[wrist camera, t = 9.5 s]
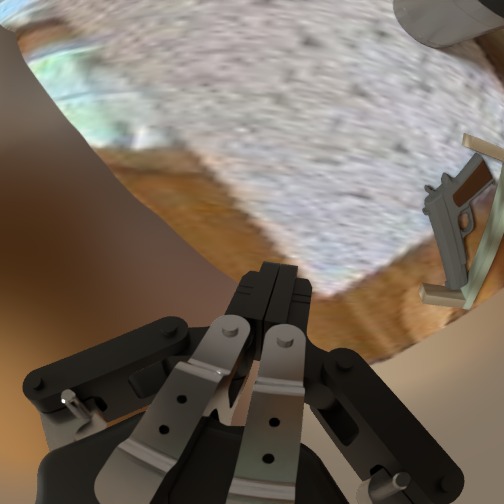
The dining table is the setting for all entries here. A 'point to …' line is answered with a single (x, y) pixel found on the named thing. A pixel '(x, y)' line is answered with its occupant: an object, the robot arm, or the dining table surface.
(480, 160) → the handgun
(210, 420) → the robot arm
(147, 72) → the dining table surface
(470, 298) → the bay
